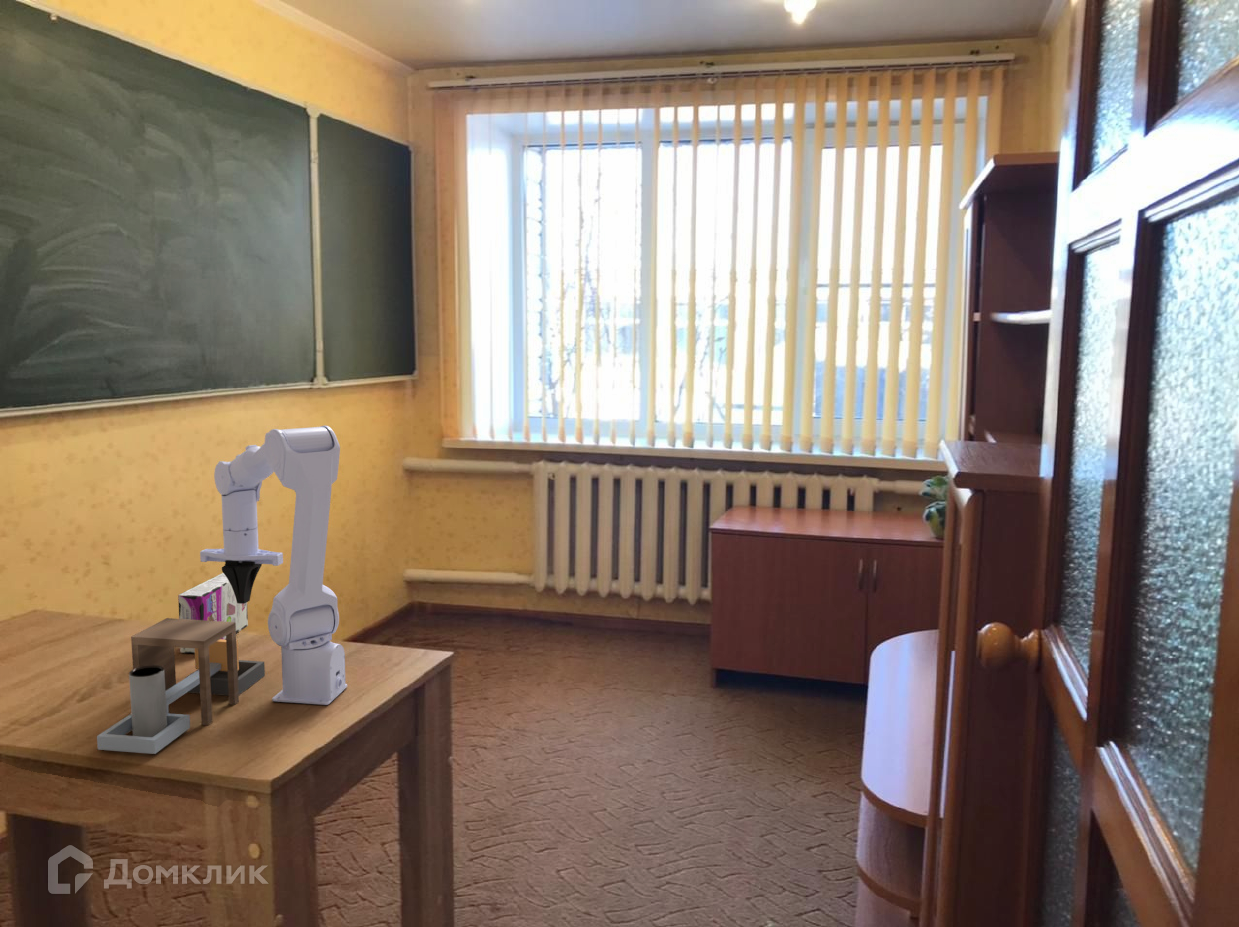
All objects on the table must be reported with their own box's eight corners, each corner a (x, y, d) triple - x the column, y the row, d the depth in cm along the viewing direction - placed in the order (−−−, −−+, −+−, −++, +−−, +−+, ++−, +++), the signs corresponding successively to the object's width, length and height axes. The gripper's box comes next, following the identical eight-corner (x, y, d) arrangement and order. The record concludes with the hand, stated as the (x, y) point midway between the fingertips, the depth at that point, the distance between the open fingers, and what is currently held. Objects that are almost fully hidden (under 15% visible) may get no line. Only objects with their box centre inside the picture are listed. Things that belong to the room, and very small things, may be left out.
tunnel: (238, 701, 149) (235, 622, 147) (208, 725, 140) (203, 641, 138) (171, 696, 150) (166, 618, 148) (136, 719, 142) (131, 636, 140)
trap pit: (264, 675, 160) (264, 661, 160) (237, 695, 151) (237, 681, 151) (215, 672, 161) (214, 658, 161) (185, 692, 152) (184, 677, 152)
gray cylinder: (130, 746, 133) (125, 677, 131) (136, 732, 137) (132, 666, 136) (164, 742, 134) (161, 674, 133) (170, 729, 139) (166, 663, 137)
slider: (244, 687, 154) (242, 640, 152) (155, 753, 130) (151, 699, 129) (195, 683, 155) (192, 637, 153) (97, 749, 131) (94, 695, 130)
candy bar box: (177, 652, 170) (225, 625, 186) (203, 654, 169) (249, 627, 185) (175, 593, 168) (224, 571, 184) (201, 595, 168) (248, 572, 184)
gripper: (289, 524, 168) (292, 597, 170) (214, 521, 169) (217, 593, 172) (271, 533, 161) (273, 609, 163) (192, 529, 163) (195, 604, 165)
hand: (243, 601), depth 167 cm, fingers closed
